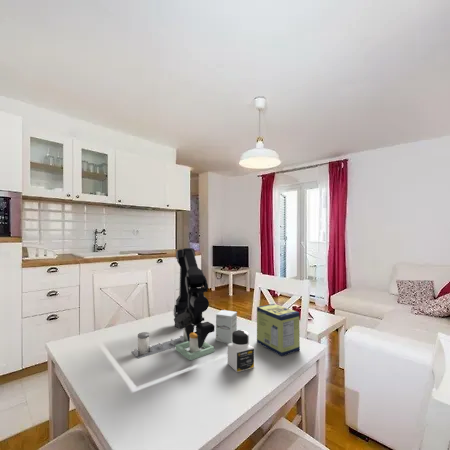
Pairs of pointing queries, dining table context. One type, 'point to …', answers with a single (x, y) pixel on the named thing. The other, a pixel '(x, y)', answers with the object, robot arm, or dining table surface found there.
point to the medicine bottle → (240, 351)
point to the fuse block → (147, 349)
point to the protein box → (278, 329)
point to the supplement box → (225, 326)
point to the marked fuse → (193, 342)
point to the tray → (194, 355)
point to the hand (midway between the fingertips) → (194, 344)
